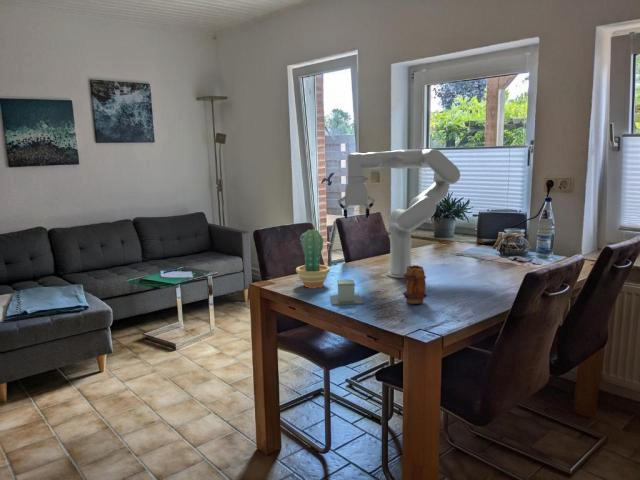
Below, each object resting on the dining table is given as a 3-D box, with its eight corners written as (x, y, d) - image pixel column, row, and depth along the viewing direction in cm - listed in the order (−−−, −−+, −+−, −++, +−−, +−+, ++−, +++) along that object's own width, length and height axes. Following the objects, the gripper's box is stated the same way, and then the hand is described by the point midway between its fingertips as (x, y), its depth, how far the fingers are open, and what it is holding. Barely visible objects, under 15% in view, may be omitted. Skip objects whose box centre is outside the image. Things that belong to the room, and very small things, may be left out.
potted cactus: (327, 280, 231) (326, 226, 227) (333, 288, 216) (332, 231, 212) (294, 282, 229) (292, 228, 225) (298, 291, 214) (296, 233, 210)
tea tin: (353, 296, 202) (352, 279, 200) (354, 301, 195) (354, 283, 194) (337, 297, 201) (337, 280, 200) (339, 301, 195) (338, 283, 194)
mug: (401, 300, 198) (401, 262, 195) (421, 299, 198) (421, 261, 196) (411, 311, 183) (411, 271, 181) (432, 310, 184) (433, 270, 181)
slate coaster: (359, 295, 205) (359, 294, 204) (363, 304, 193) (363, 303, 193) (330, 297, 204) (329, 295, 204) (332, 305, 192) (332, 304, 192)
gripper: (373, 179, 232) (373, 216, 235) (336, 180, 231) (337, 217, 234) (376, 180, 224) (376, 218, 227) (337, 181, 224) (338, 219, 226)
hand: (356, 217), depth 230 cm, fingers open, 9 cm apart
